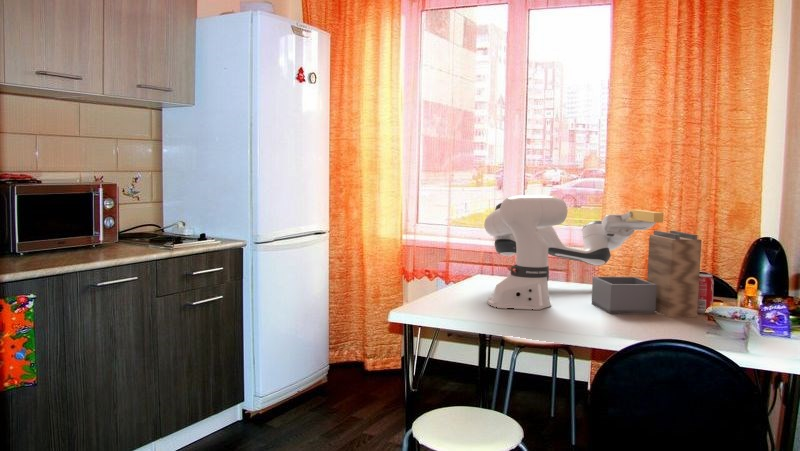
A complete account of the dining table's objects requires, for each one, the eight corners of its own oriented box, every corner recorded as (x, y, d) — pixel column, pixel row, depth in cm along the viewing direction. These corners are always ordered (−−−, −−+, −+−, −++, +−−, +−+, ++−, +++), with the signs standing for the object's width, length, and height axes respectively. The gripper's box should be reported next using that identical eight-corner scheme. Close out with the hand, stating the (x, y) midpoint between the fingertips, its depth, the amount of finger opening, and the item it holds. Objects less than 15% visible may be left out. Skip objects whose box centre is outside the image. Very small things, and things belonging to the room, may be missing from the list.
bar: (653, 222, 231) (654, 212, 231) (629, 218, 251) (629, 209, 250) (663, 222, 231) (663, 212, 231) (637, 218, 251) (638, 209, 251)
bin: (609, 313, 215) (611, 284, 215) (591, 303, 231) (592, 276, 230) (655, 313, 217) (656, 284, 216) (634, 303, 233) (635, 276, 232)
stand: (668, 317, 212) (672, 235, 210) (645, 306, 228) (649, 230, 226) (696, 317, 213) (701, 235, 211) (672, 306, 229) (676, 230, 226)
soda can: (714, 314, 217) (717, 277, 216) (692, 313, 219) (694, 275, 218) (709, 310, 224) (711, 273, 223) (687, 309, 226) (689, 272, 224)
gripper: (648, 235, 260) (664, 221, 247) (600, 235, 258) (613, 220, 246) (645, 221, 263) (660, 206, 250) (597, 220, 261) (610, 205, 248)
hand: (636, 213), depth 248 cm, fingers closed on bar, 3 cm apart
